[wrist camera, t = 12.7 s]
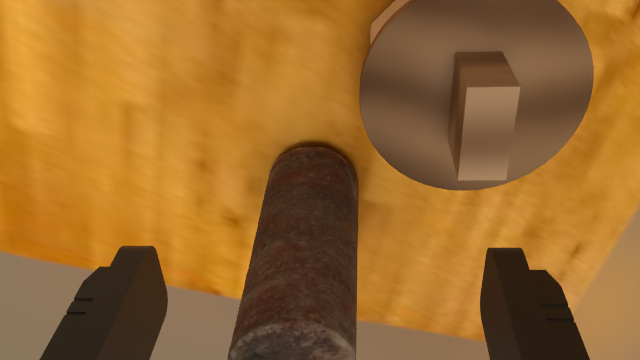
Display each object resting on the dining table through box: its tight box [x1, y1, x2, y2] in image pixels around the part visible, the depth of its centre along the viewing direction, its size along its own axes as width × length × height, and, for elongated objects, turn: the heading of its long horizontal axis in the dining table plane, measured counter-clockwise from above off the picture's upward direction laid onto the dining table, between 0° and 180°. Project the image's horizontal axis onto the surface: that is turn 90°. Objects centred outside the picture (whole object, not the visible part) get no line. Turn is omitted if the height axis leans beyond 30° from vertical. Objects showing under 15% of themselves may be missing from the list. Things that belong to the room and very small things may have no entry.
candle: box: [228, 147, 359, 360], centre depth 41 cm, size 8×7×20 cm
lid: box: [360, 0, 593, 190], centre depth 36 cm, size 14×14×6 cm
